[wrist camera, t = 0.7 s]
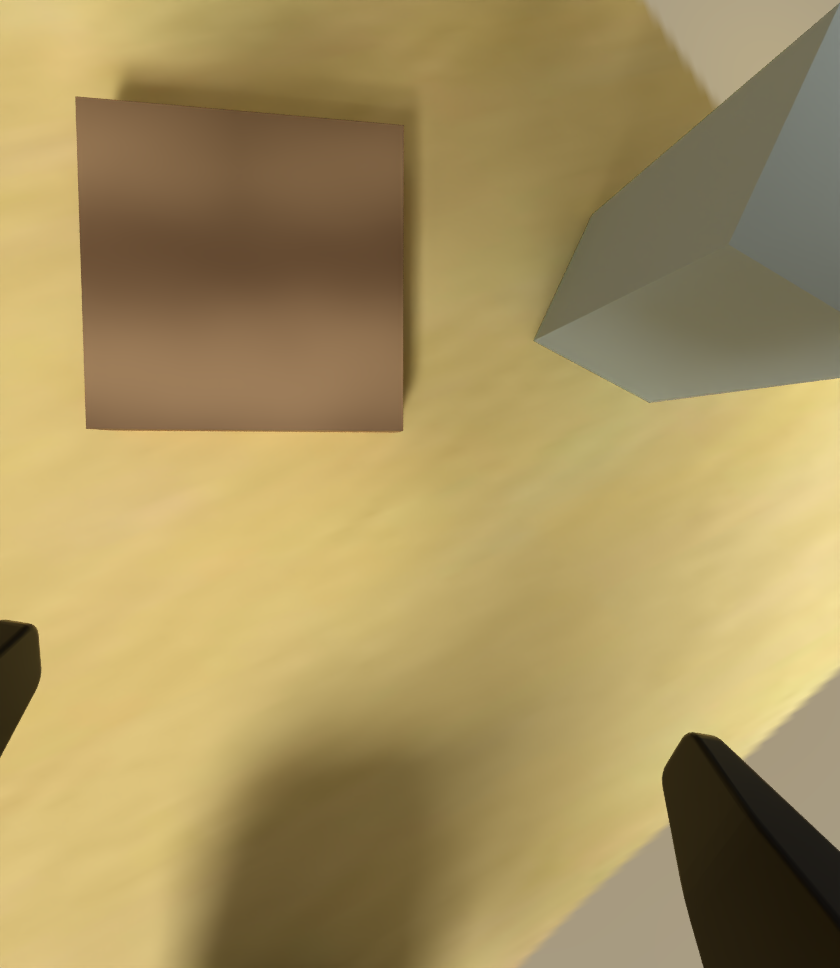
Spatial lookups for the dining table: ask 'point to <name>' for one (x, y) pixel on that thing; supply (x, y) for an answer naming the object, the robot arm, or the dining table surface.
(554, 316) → the slate block
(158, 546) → the dining table surface
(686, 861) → the robot arm
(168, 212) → the walnut block
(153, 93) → the dining table surface
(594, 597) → the dining table surface
